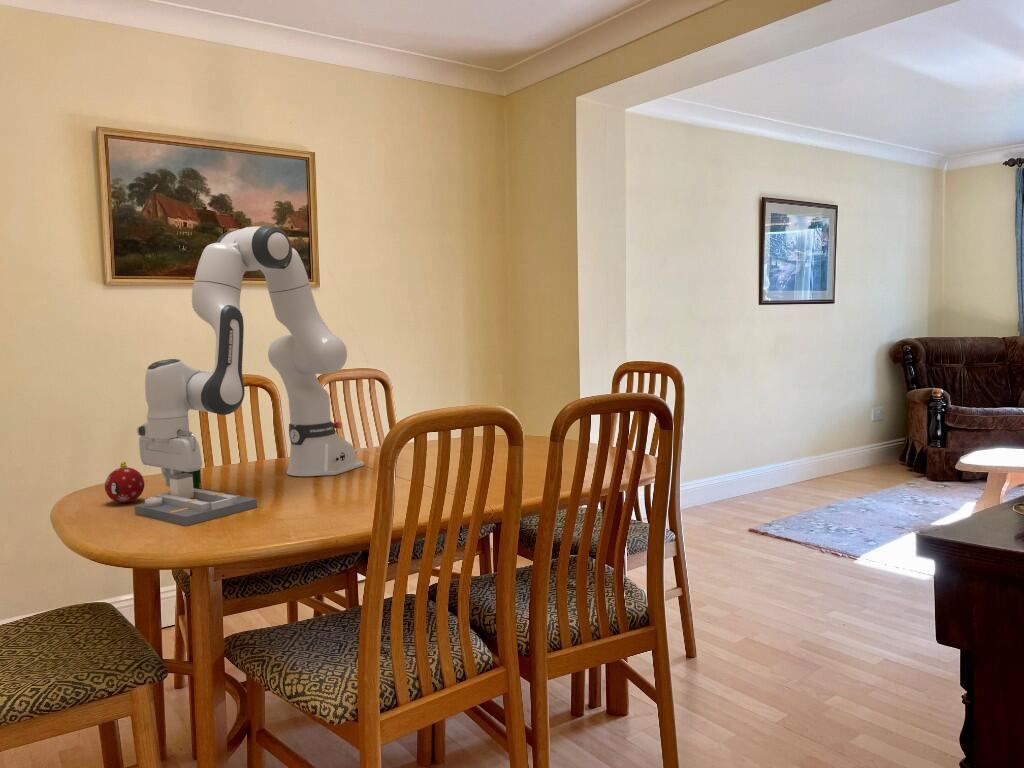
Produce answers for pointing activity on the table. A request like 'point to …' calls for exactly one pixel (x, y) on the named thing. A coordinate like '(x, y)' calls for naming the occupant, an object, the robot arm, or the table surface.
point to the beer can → (196, 479)
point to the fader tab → (182, 485)
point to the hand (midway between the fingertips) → (172, 486)
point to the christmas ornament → (124, 484)
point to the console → (194, 506)
